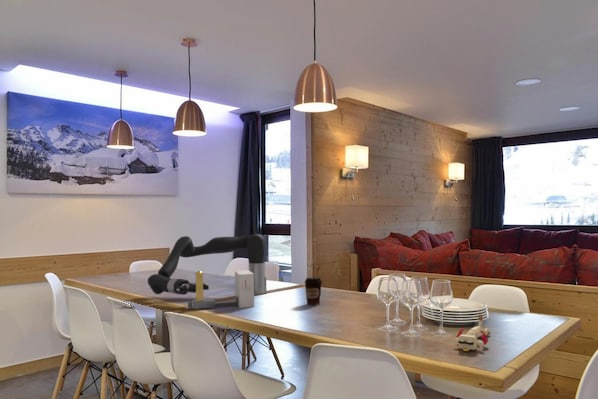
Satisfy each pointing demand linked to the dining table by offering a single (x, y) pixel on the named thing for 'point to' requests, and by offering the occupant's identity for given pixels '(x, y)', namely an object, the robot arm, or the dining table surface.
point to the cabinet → (244, 288)
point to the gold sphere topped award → (201, 294)
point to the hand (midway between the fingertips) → (201, 288)
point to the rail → (216, 304)
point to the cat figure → (472, 337)
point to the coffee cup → (313, 290)
